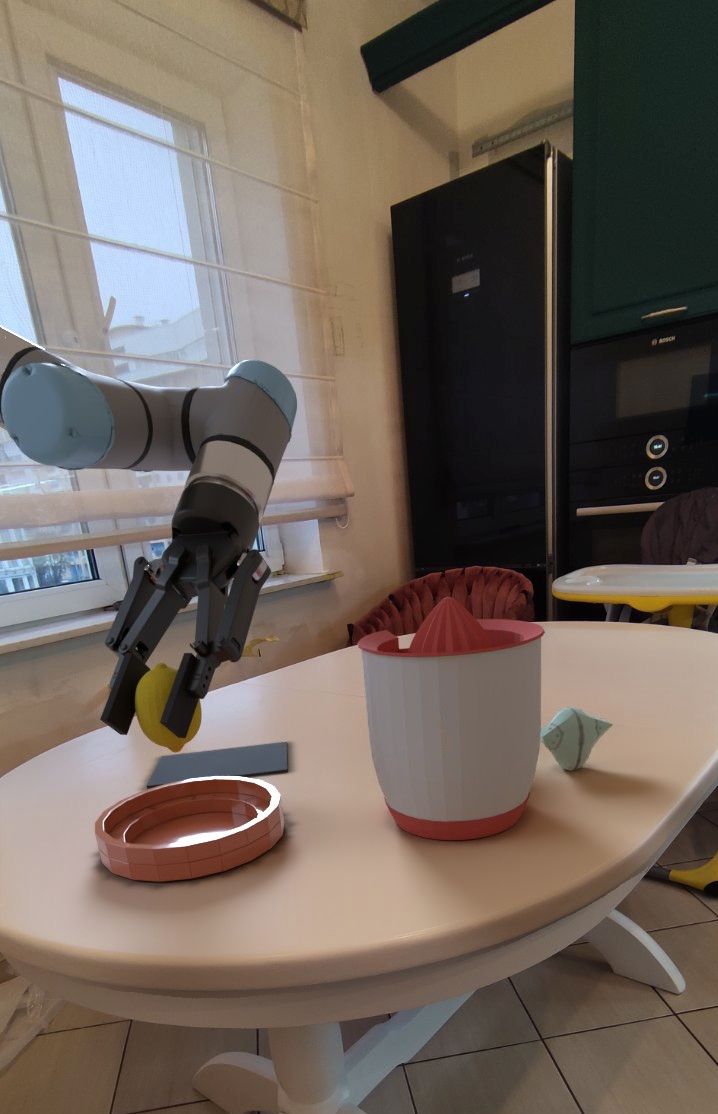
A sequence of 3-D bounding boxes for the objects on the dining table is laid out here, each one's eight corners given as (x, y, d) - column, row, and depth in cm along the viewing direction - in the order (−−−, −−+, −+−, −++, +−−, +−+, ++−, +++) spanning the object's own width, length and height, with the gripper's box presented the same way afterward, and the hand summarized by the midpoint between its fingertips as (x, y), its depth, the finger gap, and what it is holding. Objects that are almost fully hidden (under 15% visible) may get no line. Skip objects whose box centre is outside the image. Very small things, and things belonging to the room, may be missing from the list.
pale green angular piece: (545, 783, 73) (545, 718, 71) (526, 770, 77) (526, 709, 74) (615, 769, 75) (618, 706, 72) (593, 758, 79) (595, 697, 76)
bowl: (65, 863, 66) (56, 828, 64) (198, 798, 78) (192, 768, 77) (192, 903, 57) (184, 864, 55) (320, 823, 69) (315, 789, 68)
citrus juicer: (480, 771, 78) (475, 579, 71) (579, 829, 63) (585, 591, 55) (344, 801, 74) (323, 599, 66) (415, 871, 58) (397, 618, 51)
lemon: (211, 756, 63) (195, 664, 60) (145, 766, 61) (126, 673, 58) (205, 739, 67) (190, 653, 64) (144, 748, 66) (126, 661, 63)
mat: (147, 791, 82) (146, 786, 82) (162, 760, 92) (161, 756, 92) (288, 774, 83) (287, 769, 83) (287, 746, 93) (286, 741, 93)
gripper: (325, 530, 67) (259, 754, 60) (165, 542, 74) (87, 743, 67) (292, 467, 61) (212, 709, 53) (119, 487, 68) (28, 703, 60)
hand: (142, 728), depth 60 cm, fingers closed on lemon, 5 cm apart
